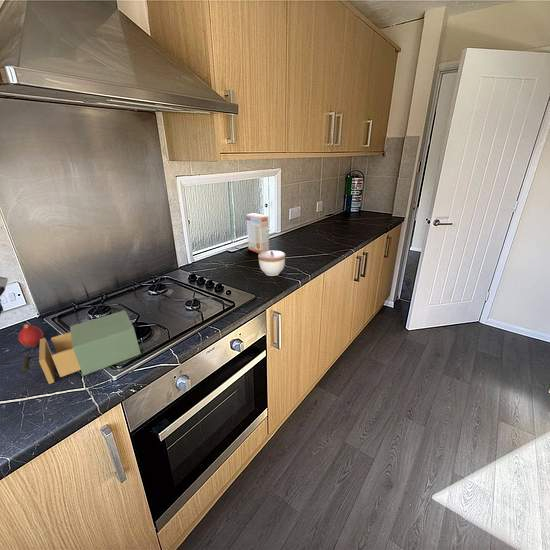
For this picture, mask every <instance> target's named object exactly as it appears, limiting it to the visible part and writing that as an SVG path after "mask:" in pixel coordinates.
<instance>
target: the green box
mask: <svg viewBox="0 0 550 550" xmlns="http://www.w3.org/2000/svg"><path fill="white" fill-rule="evenodd" d="M69 329H70V331H69V332H71V338H72V346H73V350H74V353H75V355H76V358H77V361H78V363H79V366H80V369H81V370H80V372H81V374H82V376H83V377H84V376H86V375H89V374H92V373H94V372H97V371H101V370H103V369H105V368H107V367H108V368H109V367H111V366H113V365H116V364H118V363H122V362H124V361H126V360H129V359H131V358H134V357H137V356H140V355H141V354H142V353H141V350H140V349H141V348H140V345H139V341H138V338H137V334H136V329H135V327H134V325H133V323H132V321H131V319H130V317H129V315H128V312H127V311H126V310H121V311H117V312H114V313H110V314H107V315H104V316H100V317H97V318H94V319H91V320H87V321H84V322H80V323H77V324H73V325H70V326H69Z"/></svg>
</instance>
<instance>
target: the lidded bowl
mask: <svg viewBox="0 0 550 550" xmlns="http://www.w3.org/2000/svg"><path fill="white" fill-rule="evenodd" d="M257 258H258V265H259V268H260V270H261V271H262V273H264V274H265V275H266V276H269V277H275V276H278V275H280V274H281V272H282V271H283V270H284V268H285V266H286V253H285V252H284V251H281V250H269V251H264V252H261V253H260V254H259V253H258V255H257Z"/></svg>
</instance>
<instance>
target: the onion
mask: <svg viewBox="0 0 550 550" xmlns="http://www.w3.org/2000/svg"><path fill="white" fill-rule="evenodd" d="M43 338H44V332H43V330H42V329H41V328H39V327H38V326H36V325H30V324H24V325H23V326H22V329H21V330H20V331H19V333H18V342H19V344H21V345H23V346H25V347H31V348H36V347H37V346H38V345H40V339H43Z"/></svg>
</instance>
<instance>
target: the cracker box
mask: <svg viewBox="0 0 550 550" xmlns="http://www.w3.org/2000/svg"><path fill="white" fill-rule="evenodd" d="M245 215H246V217H245V218H246V234H247V248H248V249H247V250H249V251H252V252H254V253H256V254H258V255H259V254H260V253H261V252H264V251H270V230H269V216H267V215H263V214H259V213H255V212H251V213H247V214H245Z"/></svg>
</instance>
